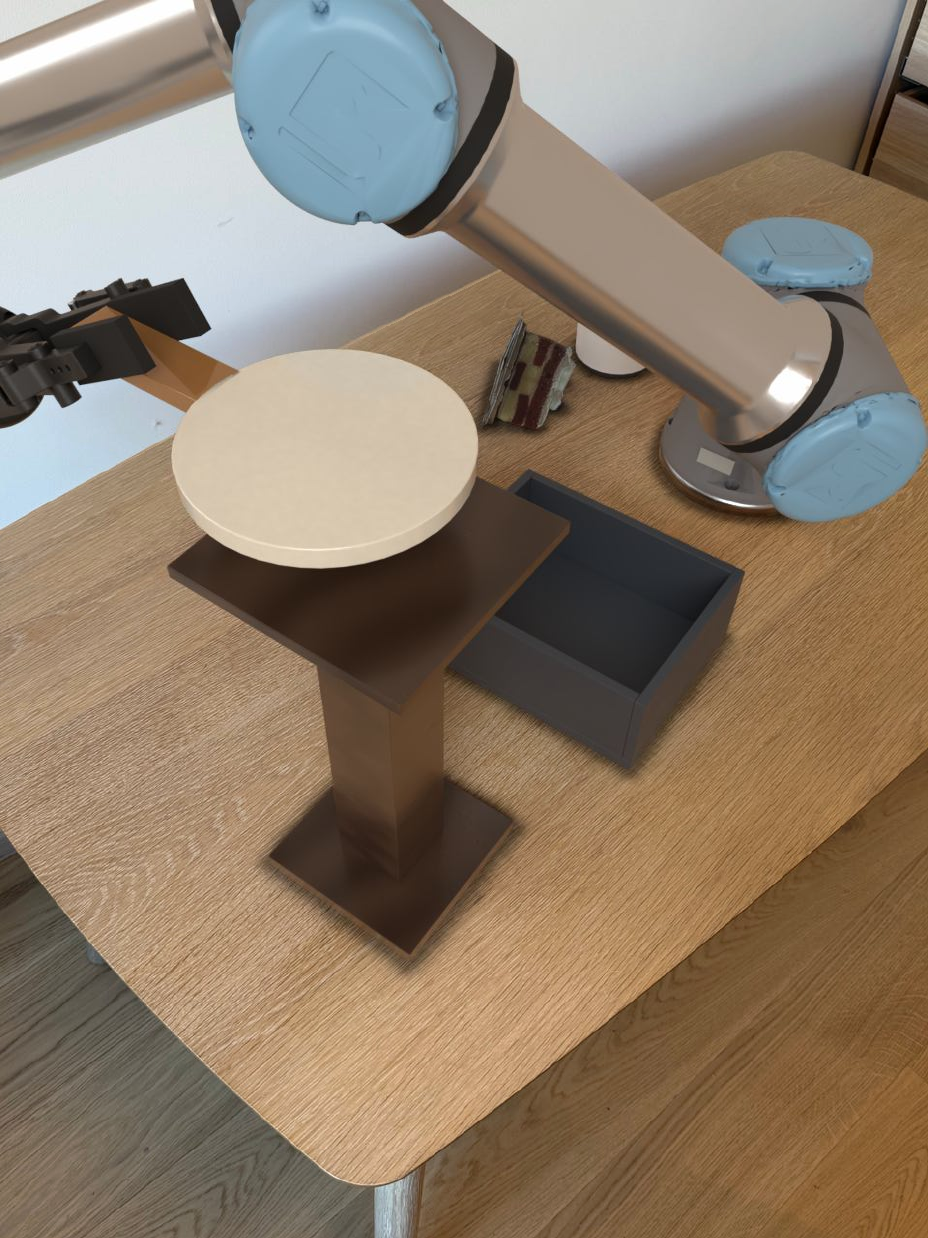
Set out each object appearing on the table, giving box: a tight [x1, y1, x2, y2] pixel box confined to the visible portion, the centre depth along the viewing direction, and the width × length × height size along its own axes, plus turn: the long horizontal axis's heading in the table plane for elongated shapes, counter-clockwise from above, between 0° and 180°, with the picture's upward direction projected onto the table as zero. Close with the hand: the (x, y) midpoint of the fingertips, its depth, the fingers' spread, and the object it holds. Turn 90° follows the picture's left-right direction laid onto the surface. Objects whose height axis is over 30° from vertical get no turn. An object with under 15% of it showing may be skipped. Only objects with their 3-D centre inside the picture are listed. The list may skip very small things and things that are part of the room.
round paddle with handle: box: [71, 306, 480, 569], centre depth 52 cm, size 23×14×1 cm, turn 55°
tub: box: [446, 468, 746, 771], centre depth 85 cm, size 20×16×8 cm
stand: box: [166, 475, 570, 963], centre depth 65 cm, size 14×14×30 cm
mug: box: [575, 322, 648, 379], centre depth 110 cm, size 11×9×10 cm
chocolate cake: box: [481, 309, 576, 431], centre depth 108 cm, size 10×7×12 cm
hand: (164, 325), depth 52 cm, fingers closed on round paddle with handle, 3 cm apart
